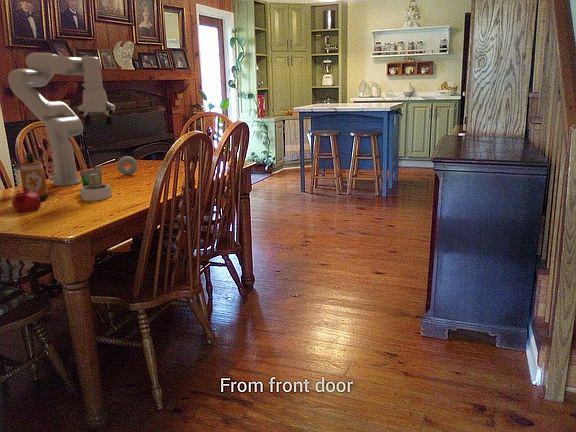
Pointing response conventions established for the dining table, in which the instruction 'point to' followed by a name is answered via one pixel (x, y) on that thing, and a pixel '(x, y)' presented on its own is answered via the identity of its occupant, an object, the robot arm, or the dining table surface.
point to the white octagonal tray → (95, 193)
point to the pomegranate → (26, 200)
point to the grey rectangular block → (94, 180)
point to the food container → (86, 174)
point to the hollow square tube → (95, 187)
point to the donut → (127, 160)
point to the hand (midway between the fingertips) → (98, 125)
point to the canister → (34, 176)
